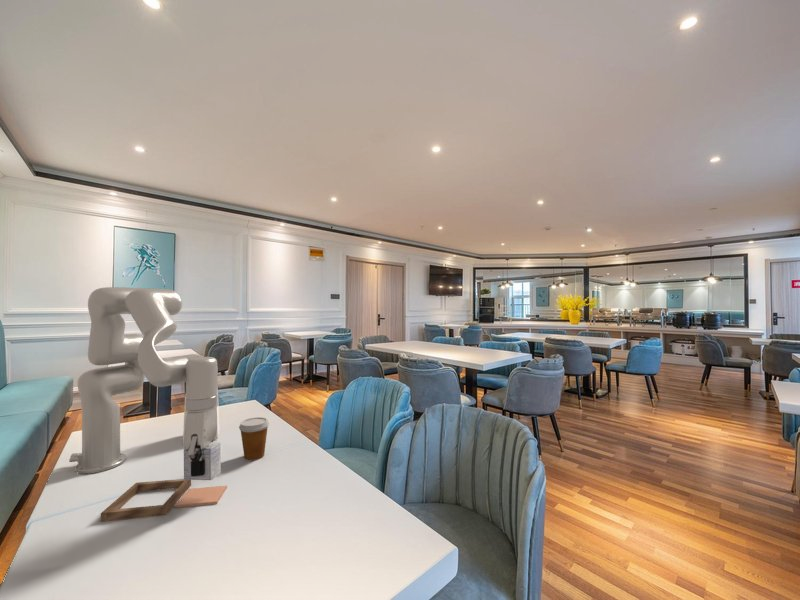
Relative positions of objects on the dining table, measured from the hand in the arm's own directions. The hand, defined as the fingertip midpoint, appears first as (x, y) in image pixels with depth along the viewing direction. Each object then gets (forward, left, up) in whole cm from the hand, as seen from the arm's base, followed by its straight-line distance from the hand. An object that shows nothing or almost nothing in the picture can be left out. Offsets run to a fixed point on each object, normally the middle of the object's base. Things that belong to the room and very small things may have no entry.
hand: (202, 469), depth 94 cm
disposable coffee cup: (+7, +24, -8) cm, 26 cm away
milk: (-18, +46, -8) cm, 50 cm away
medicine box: (0, 0, -2) cm, 2 cm away
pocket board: (-13, 0, -8) cm, 15 cm away
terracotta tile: (0, 0, -8) cm, 8 cm away
